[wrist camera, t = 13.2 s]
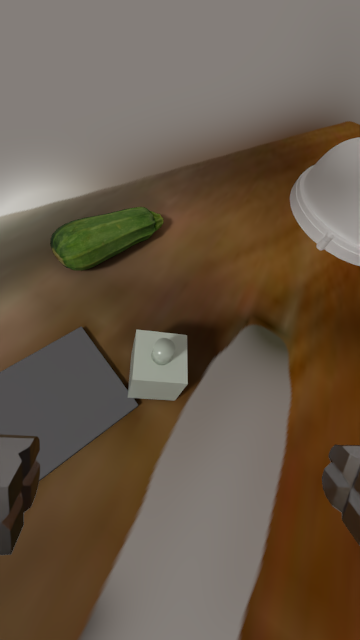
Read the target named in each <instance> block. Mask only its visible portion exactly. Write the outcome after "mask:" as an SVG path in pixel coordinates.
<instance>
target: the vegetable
mask: <svg viewBox="0 0 360 640" xmlns="http://www.w3.org/2000/svg"><path fill="white" fill-rule="evenodd" d="M162 224H163V218H162V217H161V215H160V214H156V213H154V212H152V211H149V210H148V209H147V208H145V207H136V208H130V209H125V210H121V211H116V212H112V213H108V214H104V215H98V216H93V217H87V218H82V219H78V220H75V221H71V222H69V223H67V224H64V225H63V226H61V227H59V228H58V229H57V230H56V231H55V232H54V233H53V235H52V238H51V248H52V251H53V253H54V254H55V256H56V258H57V259H58V260H59V262H61V263H62V264H63V266H65V267H67V268H70V269H73V270H86V269H89V268H92V267H94V266H96V265H98V264H100V263H101V262H103V261H105V260H107V259H109V258H111V257H113V256H115V255H117V254H119V253H120V252H122V251H124V250H126V249H128V248H129V247H131V246H133V245H135V244H137V243H139V242H142V241H144V240H147V239H148V238H150V237H151V235H152V234H153V233H154V232H155V231H157V230H158V229H159V228H160V227H161V226H162Z"/></svg>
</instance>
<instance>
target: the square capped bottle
mask: <svg viewBox="0 0 360 640" xmlns="http://www.w3.org/2000/svg"><path fill="white" fill-rule="evenodd" d="M187 384H188V369H187V335H181V334H172V333H163V332H154V331H145V330H136V335H135V339H134V344H133V349H132V355H131V365H130V376H129V387H128V398H143V399H159V400H174V401H175V400H176V398H177V397H178V396H179V395H180V393H181V392H182V391H183V389H184V388H185V387H186V385H187Z"/></svg>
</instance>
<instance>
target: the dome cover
mask: <svg viewBox="0 0 360 640" xmlns="http://www.w3.org/2000/svg"><path fill="white" fill-rule="evenodd" d="M290 205H291V209H292V212H293V214H294V217H295V219H296V220H297V222H298V224H299V225H300V226H301V228H302V229H303V230H304V232H305V233H306V234H307V235H308V236H309V237H310V238H311V239H312V240H313V241H314V242H316V243H317V245H316V247H317V248H318V249H319V250H324V249H325V250H326V251H328V252H329V253H331V254H332V255H334V256H336V257H338V258H340V259H342V260H344V261H346V262H349V263H352V264H354V265H358V266H360V137H359V138H354V139H350V140H347V141H344V142H342V143H340V144H338V145H337V146H335V147H333V148H332V149H331V150H329V151H328V152H327V153H326V154H325V155H324V156H323V157H322V158H321V159H320V160H319V161H318V162H317V163H316V164H315V165H313V166H311V167H309V168H308V169H307V170H306V171H305V172H303V173H302V174H301V175H300V177H299V178H298V180H297V181H296V183H295V184H294V186H293V187H292V190H291V193H290Z"/></svg>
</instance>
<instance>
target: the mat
mask: <svg viewBox="0 0 360 640" xmlns="http://www.w3.org/2000/svg"><path fill="white" fill-rule="evenodd" d="M137 406H138V404H137V402H136V401H135V400H134V398H128V390H127V389H126V387H125V386H124V385H123V383H122V382H121V380H120V379H119V378H118V376H117V375H116V374H115V372H114V371H113V369H112V368H111V367H110V365H109V364H108V363H107V361H106V360H105V358H104V357H103V356H102V354H101V353H100V352H99V350H98V349H97V347H96V346H95V345H94V343H93V342H92V341H91V339H90V338H89V337H88V335H87V334H86V332H85V331H84V330H83V328H82V327H80V328H78V329H76V330H74V331H73V332H71V333H69V334H67V335H65V336H64V337H62V338H60V339H58V340H57V341H55V342H53V343H51V344H49V345H48V346H46V347H44V348H42V349H41V350H39V351H37V352H35V353H34V354H32V355H30V356H28V357H26V358H25V359H23V360H21V361H19V362H18V363H16V364H14V365H12V366H10V367H9V368H7V369H5V370H3V371H2V372H0V434H3V435H23V436H37V437H38V438H39V440H40V451H39V453H38V455H37V457H36V460H37V461H38V463H39V464H40V478H39V481H40V480H41V479H42V478H44V477H45V476H46V475H48V474H49V473H50V472H52V471H53V470H54V469H56V468H57V467H58V466H60V465H61V464H62V463H64V462H65V461H66V460H67V459H69V458H70V457H71V456H73V455H74V454H75V453H77V452H78V451H79V450H81V449H82V448H83V447H85V446H86V445H87V444H89V443H90V442H91V441H93V440H94V439H95V438H97V437H98V436H99V435H100V434H102V433H103V432H104V431H106V430H107V429H108V428H110V427H111V426H112V425H114V424H115V423H116V422H118V421H119V420H120V419H122V418H123V417H124V416H126V415H127V414H128V413H130V412H131V411H132V410H133V409H135V408H136V407H137Z"/></svg>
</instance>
